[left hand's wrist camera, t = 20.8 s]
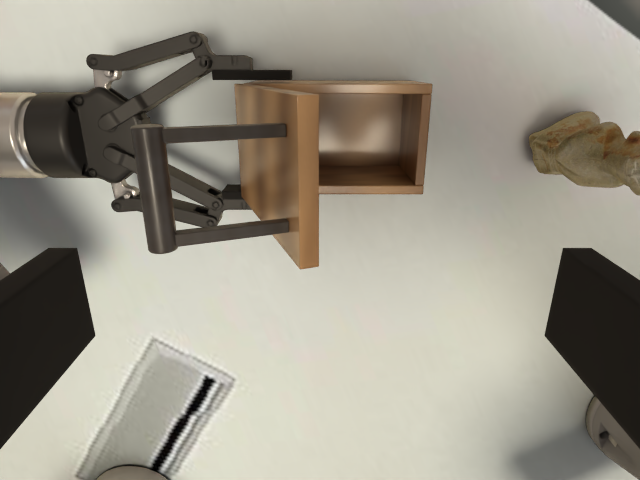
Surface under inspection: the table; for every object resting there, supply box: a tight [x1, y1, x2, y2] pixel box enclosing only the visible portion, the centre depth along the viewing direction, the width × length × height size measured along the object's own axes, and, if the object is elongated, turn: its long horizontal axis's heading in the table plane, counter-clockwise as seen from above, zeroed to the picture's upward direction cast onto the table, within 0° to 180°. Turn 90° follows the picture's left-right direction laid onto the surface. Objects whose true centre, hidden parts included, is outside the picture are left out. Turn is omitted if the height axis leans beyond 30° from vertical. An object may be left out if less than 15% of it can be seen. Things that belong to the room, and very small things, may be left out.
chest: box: [244, 80, 432, 194], centre depth 42 cm, size 15×9×9 cm, turn 90°
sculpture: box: [529, 111, 640, 195], centre depth 40 cm, size 6×7×15 cm
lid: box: [130, 84, 319, 269], centre depth 29 cm, size 16×9×9 cm
